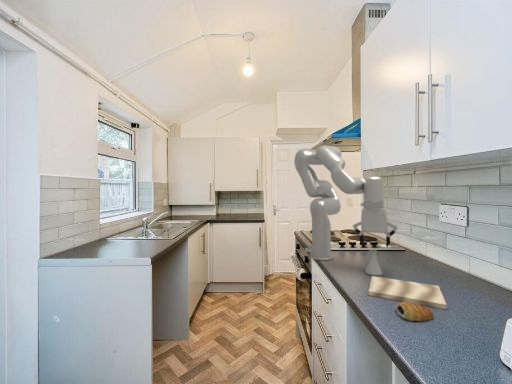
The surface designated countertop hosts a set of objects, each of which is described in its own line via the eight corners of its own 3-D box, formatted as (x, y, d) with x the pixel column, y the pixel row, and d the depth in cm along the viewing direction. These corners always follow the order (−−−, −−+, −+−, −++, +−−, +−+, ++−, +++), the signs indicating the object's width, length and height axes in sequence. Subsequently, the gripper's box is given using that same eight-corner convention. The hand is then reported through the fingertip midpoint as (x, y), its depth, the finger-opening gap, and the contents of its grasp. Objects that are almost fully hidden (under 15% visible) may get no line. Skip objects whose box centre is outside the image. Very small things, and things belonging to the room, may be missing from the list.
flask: (384, 277, 104) (384, 253, 104) (366, 276, 106) (366, 252, 105) (379, 271, 111) (379, 248, 111) (362, 270, 113) (362, 248, 112)
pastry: (424, 310, 77) (424, 298, 77) (439, 323, 70) (439, 309, 70) (393, 310, 77) (393, 298, 77) (405, 323, 70) (406, 309, 70)
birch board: (368, 295, 87) (368, 290, 87) (371, 279, 101) (371, 276, 101) (446, 309, 77) (446, 304, 77) (438, 289, 91) (438, 285, 91)
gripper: (351, 206, 108) (352, 245, 108) (396, 206, 100) (398, 248, 100) (353, 205, 115) (354, 242, 115) (396, 205, 107) (397, 245, 107)
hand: (374, 245), depth 107 cm, fingers open, 9 cm apart
